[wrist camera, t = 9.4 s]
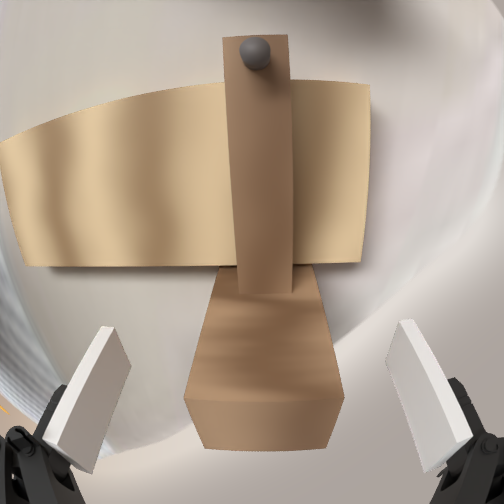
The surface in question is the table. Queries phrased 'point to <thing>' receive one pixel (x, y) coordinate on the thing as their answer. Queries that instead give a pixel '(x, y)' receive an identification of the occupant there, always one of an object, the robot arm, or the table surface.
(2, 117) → the table surface
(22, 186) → the board
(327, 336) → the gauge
